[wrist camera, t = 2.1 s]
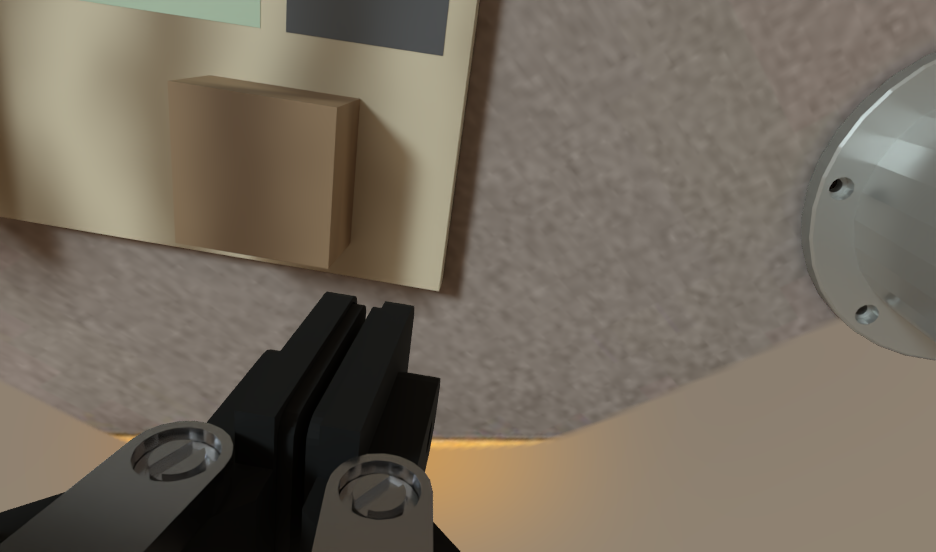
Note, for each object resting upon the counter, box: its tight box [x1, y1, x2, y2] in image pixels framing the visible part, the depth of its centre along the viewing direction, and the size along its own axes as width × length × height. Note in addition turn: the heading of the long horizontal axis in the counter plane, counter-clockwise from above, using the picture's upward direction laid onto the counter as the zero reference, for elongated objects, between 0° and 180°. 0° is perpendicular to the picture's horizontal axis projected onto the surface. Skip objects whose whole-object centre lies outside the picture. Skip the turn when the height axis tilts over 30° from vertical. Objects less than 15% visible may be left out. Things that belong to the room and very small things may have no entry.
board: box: [0, 0, 480, 291], centre depth 23 cm, size 22×17×4 cm
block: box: [168, 75, 360, 269], centre depth 23 cm, size 6×6×3 cm
